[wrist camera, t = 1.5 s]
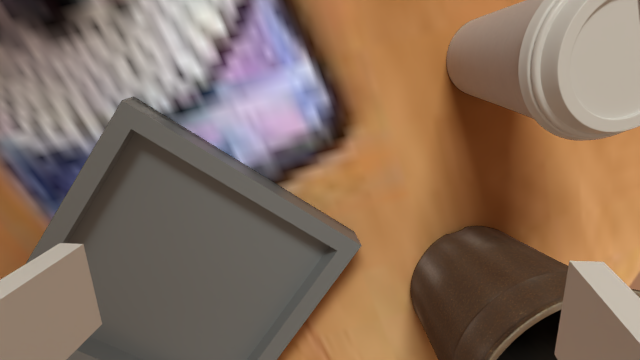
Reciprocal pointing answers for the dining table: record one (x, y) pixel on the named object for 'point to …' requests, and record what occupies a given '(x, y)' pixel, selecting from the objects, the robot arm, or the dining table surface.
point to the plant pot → (489, 297)
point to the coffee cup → (556, 64)
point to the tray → (192, 247)
